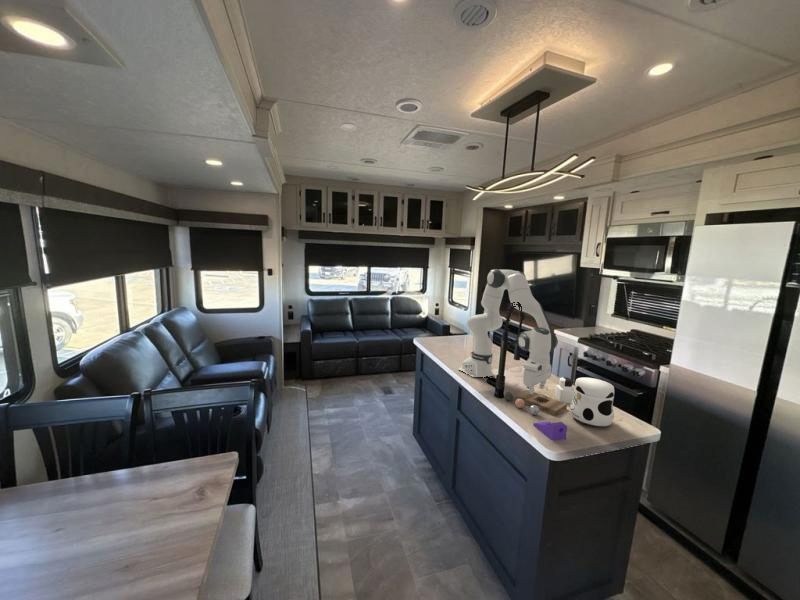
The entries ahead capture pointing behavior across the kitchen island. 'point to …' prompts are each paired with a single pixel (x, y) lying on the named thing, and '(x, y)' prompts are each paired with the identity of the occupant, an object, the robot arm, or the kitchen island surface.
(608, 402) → the doce de leite tub
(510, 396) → the rubber ball
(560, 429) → the bracket
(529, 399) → the hole plate
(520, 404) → the terracotta ball
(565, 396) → the medicine bottle
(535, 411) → the steel ball
